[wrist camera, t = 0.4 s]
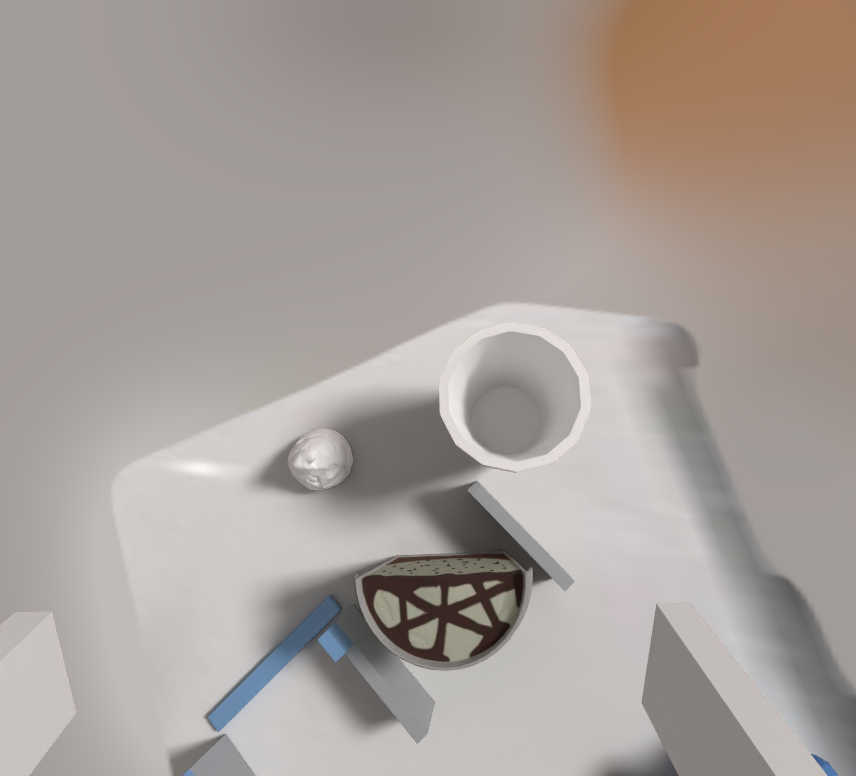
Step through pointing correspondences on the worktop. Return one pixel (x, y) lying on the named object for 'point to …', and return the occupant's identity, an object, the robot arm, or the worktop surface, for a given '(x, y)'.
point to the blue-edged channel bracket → (356, 658)
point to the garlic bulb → (320, 459)
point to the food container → (445, 606)
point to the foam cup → (514, 397)
